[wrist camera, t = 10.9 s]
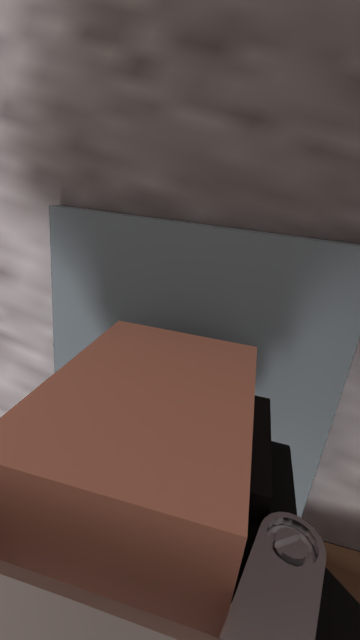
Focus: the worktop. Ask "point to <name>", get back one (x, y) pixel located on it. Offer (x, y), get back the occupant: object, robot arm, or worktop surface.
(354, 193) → the worktop surface
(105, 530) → the terracotta block
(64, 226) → the slate mat
